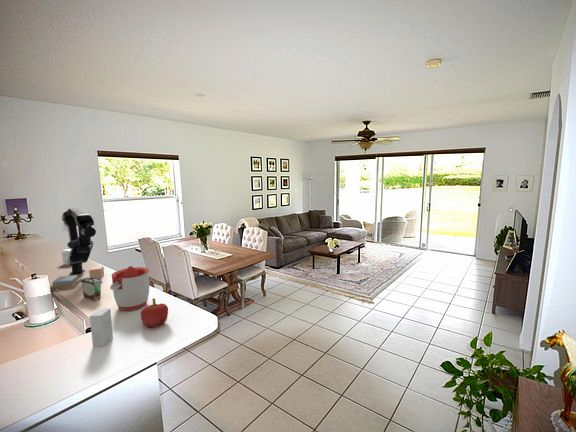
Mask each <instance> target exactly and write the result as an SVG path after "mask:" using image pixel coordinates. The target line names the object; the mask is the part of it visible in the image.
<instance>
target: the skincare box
mask: <svg viewBox="0 0 576 432" xmlns="http://www.w3.org/2000/svg"><path fill="white" fill-rule="evenodd" d="M89 321H90V322H89V323H90V332H91V343H92V347H106V345H107V344H108V343H109V342H110V341H111V340H112V339H113V338H114V333H113V324H112V323H113V322H112V312H111V308H106V307H105V308H98V309H97V310H96V311H95V312H93V313H92V314H90V315H89Z"/></svg>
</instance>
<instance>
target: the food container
mask: <svg viewBox="0 0 576 432" xmlns="http://www.w3.org/2000/svg"><path fill="white" fill-rule="evenodd" d="M80 279H81V282H80V284H81V289H82V296H83V298H84V299H86V300H89V301H93V302H97V301H99V300H100V299H101V298H102V297H101V295H102V284H103V279H102V278H99V277H90V276H89V277H84V278H80Z"/></svg>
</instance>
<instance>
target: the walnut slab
mask: <svg viewBox="0 0 576 432" xmlns="http://www.w3.org/2000/svg"><path fill="white" fill-rule="evenodd" d="M81 279H82V278H78V280H77V281H76V282H75V283H73V284H72V285H62V286H53V284H51V286H50V287H51V291H57V290H56V289H62V290H69V289H75V287H77V286H78V285H79V284H81Z"/></svg>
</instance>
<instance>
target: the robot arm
mask: <svg viewBox="0 0 576 432" xmlns="http://www.w3.org/2000/svg"><path fill="white" fill-rule="evenodd" d="M61 221H62V222H63V224H64V225H65V226H66V227H67V231H68V238H69V241H68V242H67V243H66V245H67V247H68V249H71V251H70V253H69V257H68V260H67V262H68V265H67V266H71V272H69V275H74V274H75V275H78V274H79V275H80V274H82V273H84V271H85V269H84V268H83V264H85V263H87V262H88V260H89V257H90V255H91V252H92V250H93V247H94V241H93V240H92V237H94V236H95V235H96V233H97V230H96V228H95V227H93V226H95V221H94V218H93V217H92V215H90V213H85V212H82V211H81V210H79V208H77V207H70V208H67V210H66V211H65V212H63V213H62V216H61ZM71 262H72V263H71Z"/></svg>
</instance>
